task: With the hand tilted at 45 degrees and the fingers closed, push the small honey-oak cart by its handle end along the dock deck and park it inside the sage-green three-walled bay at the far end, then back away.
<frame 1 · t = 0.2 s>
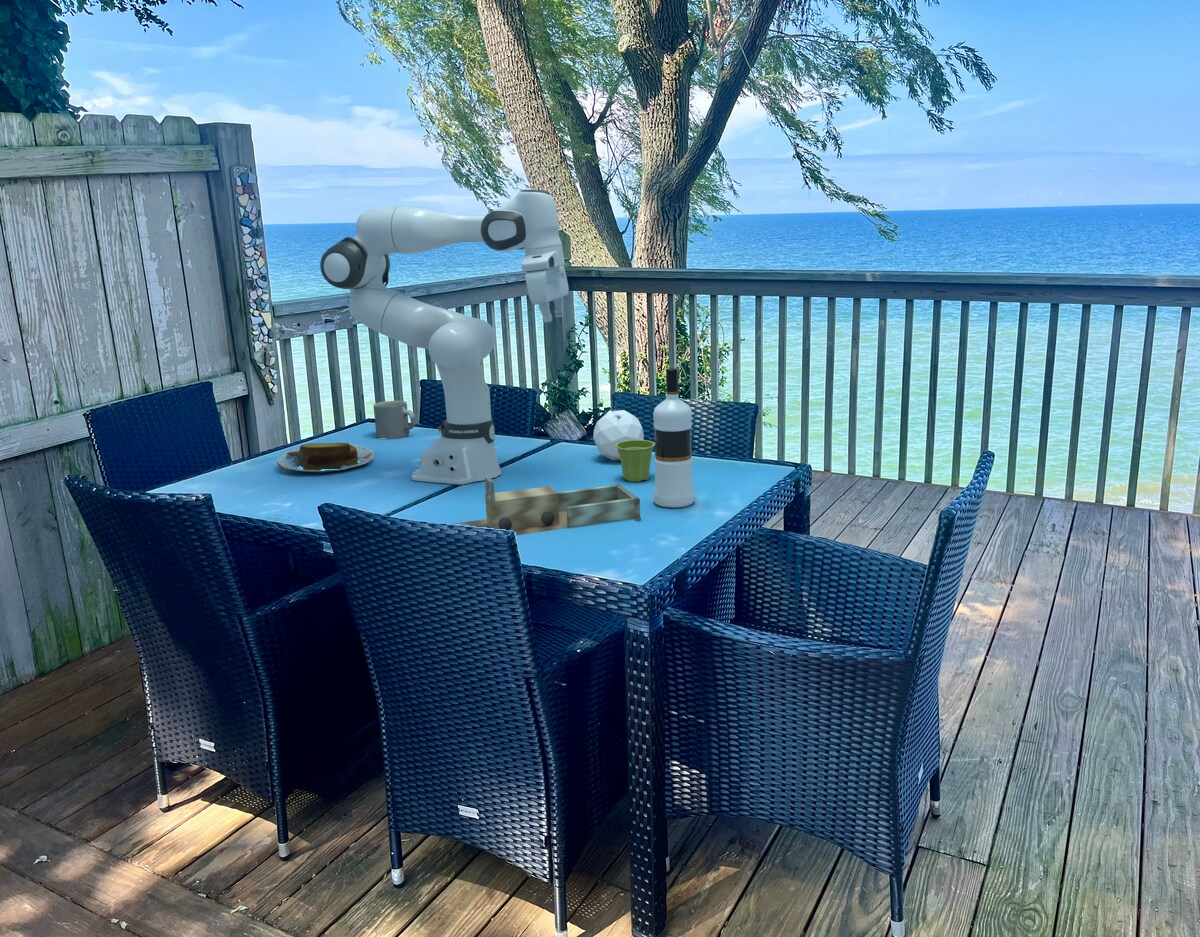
hand: (554, 319, 220), 39 cm above the table, tool pointing down, fingers open, 8 cm apart
plant pot: (636, 479, 226), on the table
coffee mug: (397, 436, 284), on the table
dock: (591, 517, 198), on the table
vodka: (674, 503, 206), on the table
geodesic sphere: (619, 459, 246), on the table
food on plate: (327, 465, 253), on the table
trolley: (523, 523, 193), point 1 cm above the table, touching dock
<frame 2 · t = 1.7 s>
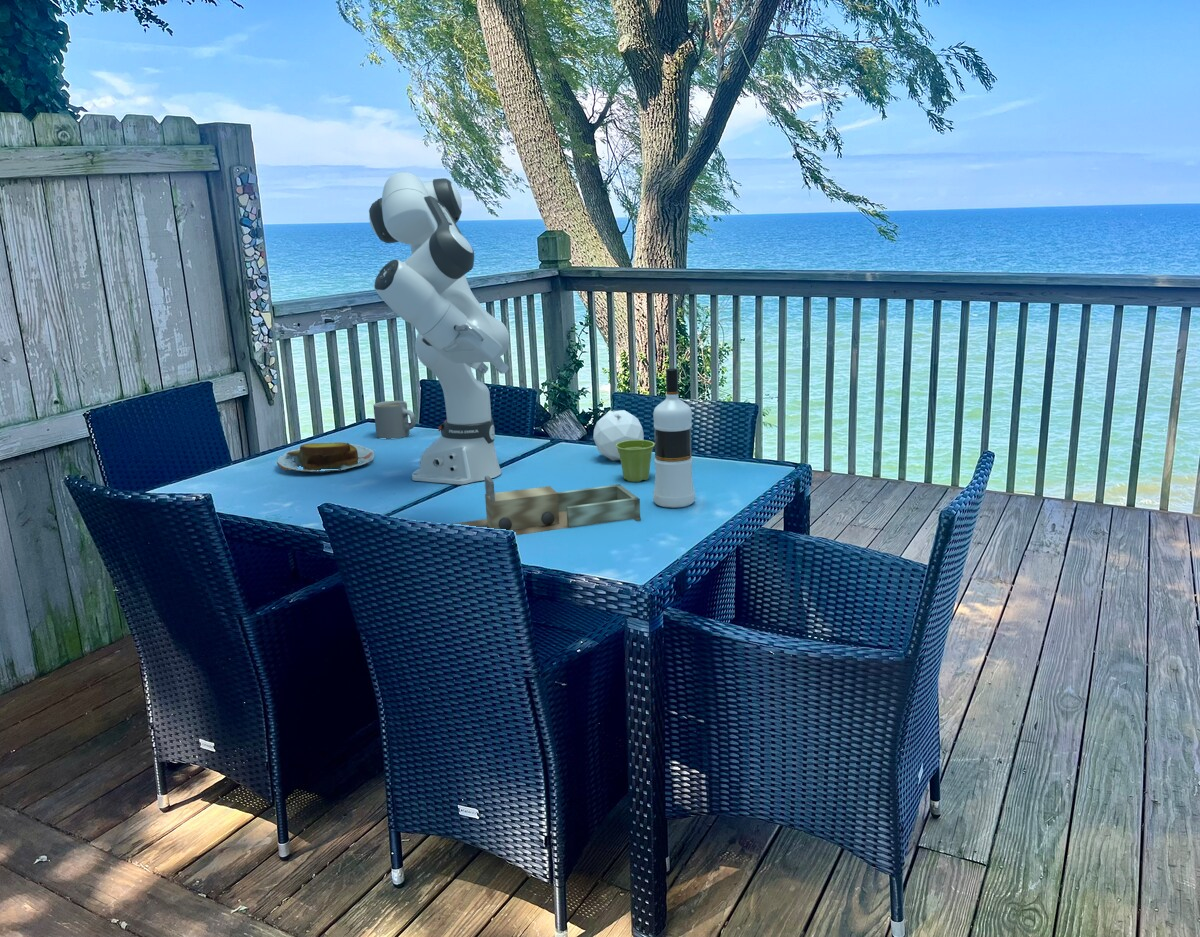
hand: (495, 371, 191), 32 cm above the table, tool tilted 45°, fingers open, 8 cm apart
nothing on the table moved.
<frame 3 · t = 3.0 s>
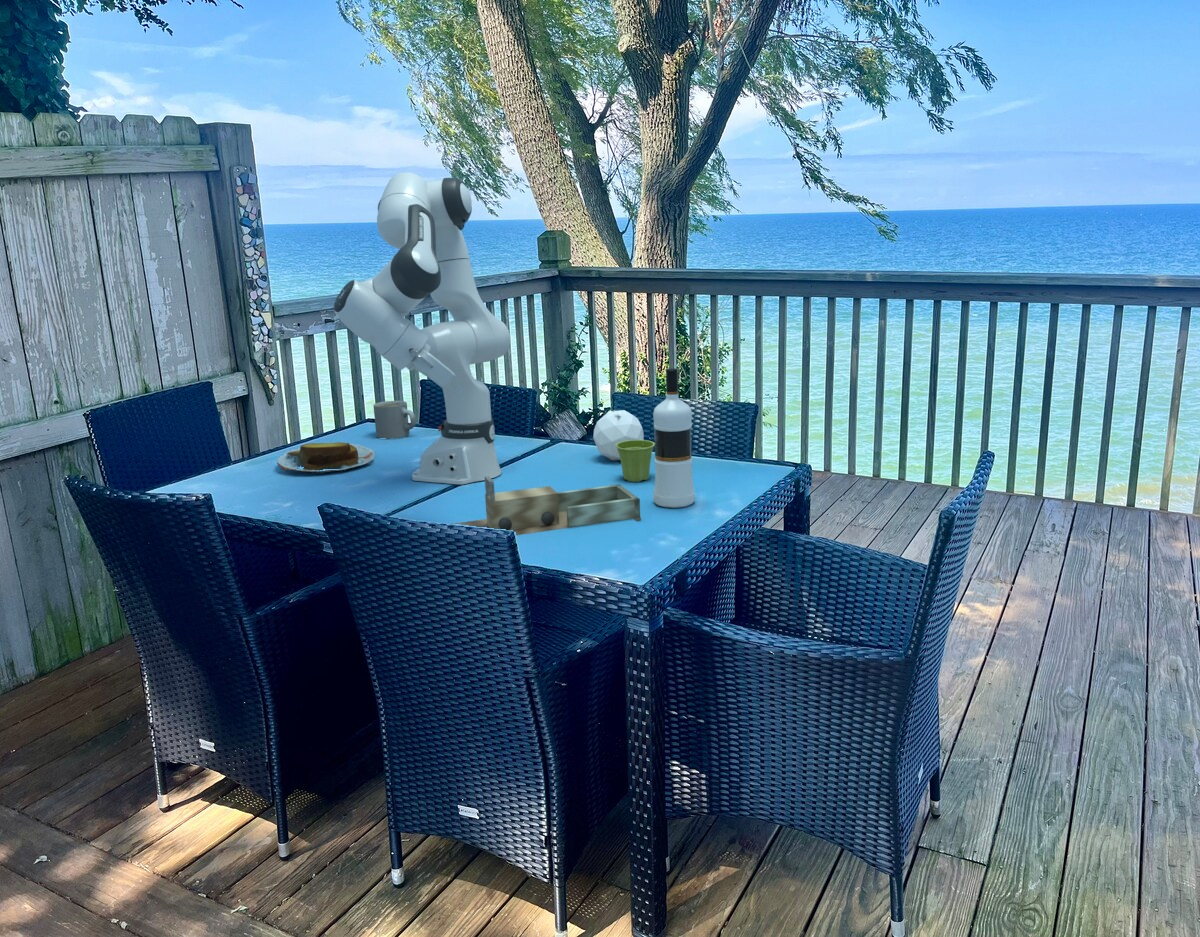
hand: (460, 392, 188), 28 cm above the table, tool tilted 45°, fingers closed
nothing on the table moved.
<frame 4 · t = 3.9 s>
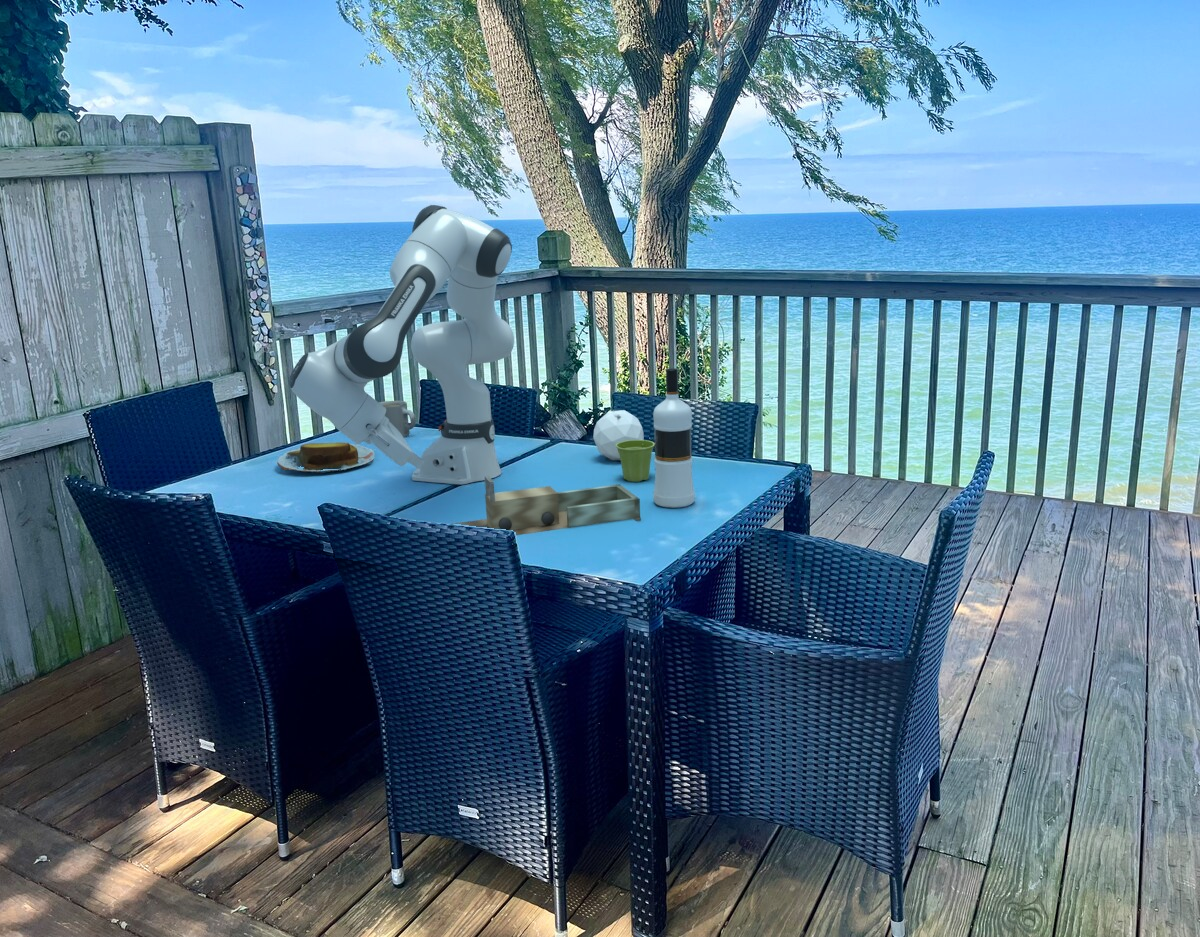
hand: (420, 464, 183), 16 cm above the table, tool tilted 45°, fingers closed
nothing on the table moved.
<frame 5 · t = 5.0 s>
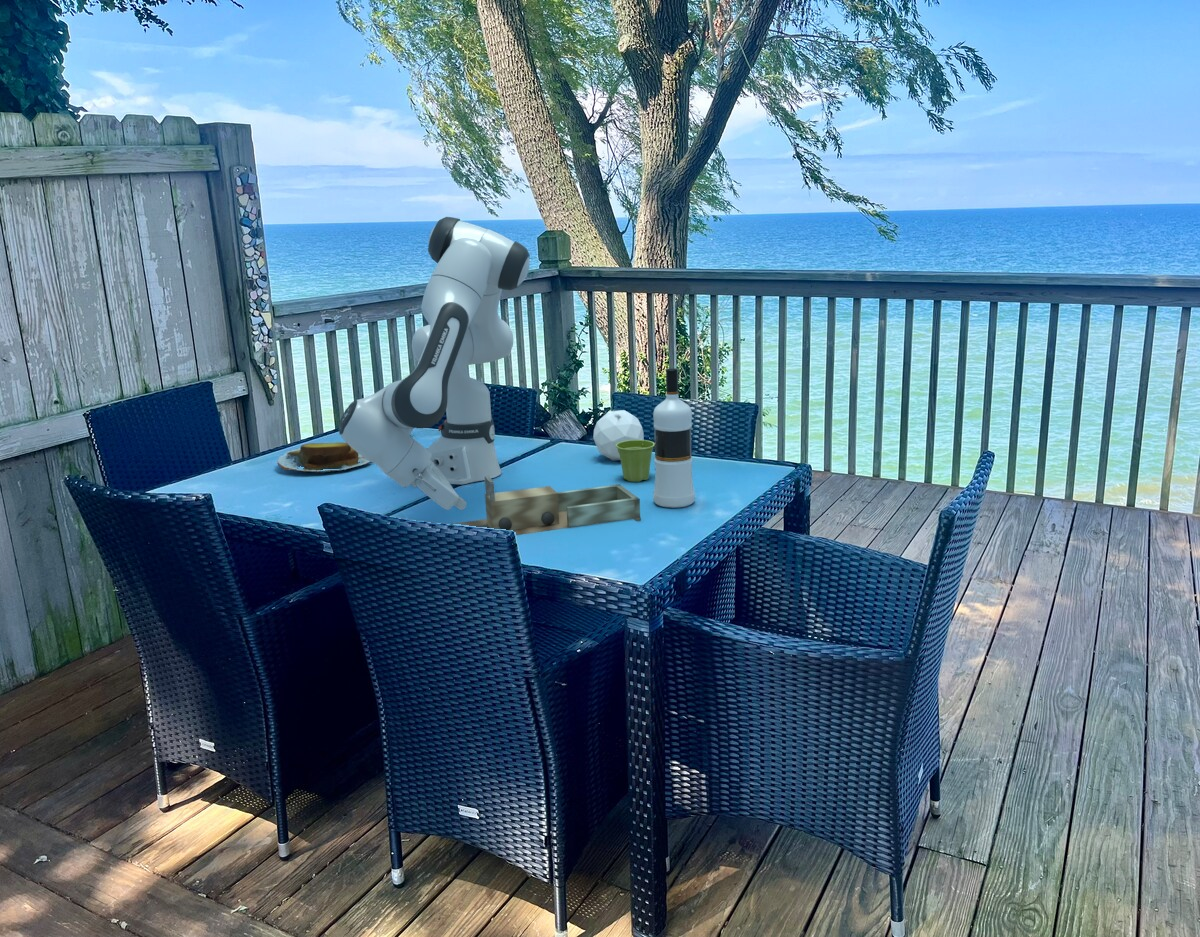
hand: (463, 505, 188), 6 cm above the table, tool tilted 45°, fingers closed
nothing on the table moved.
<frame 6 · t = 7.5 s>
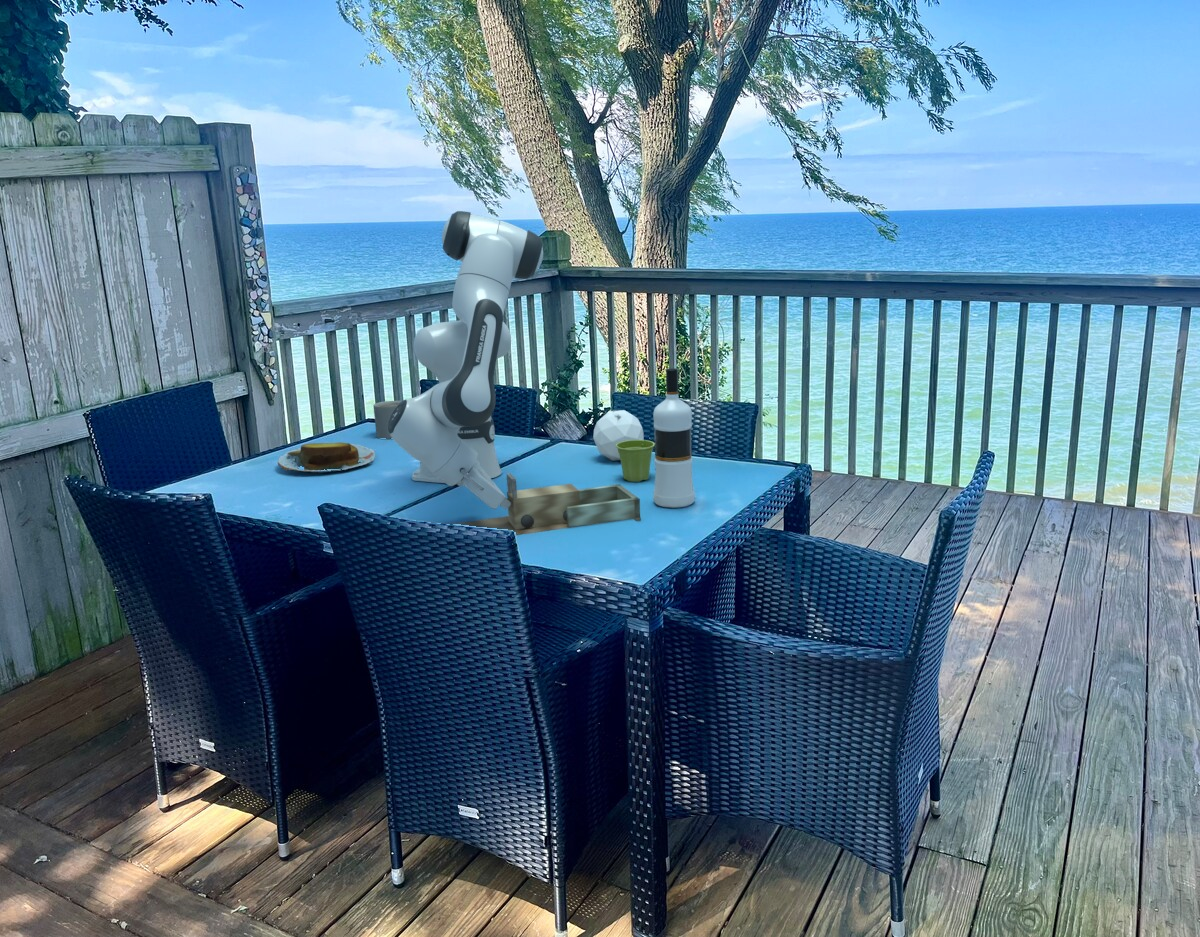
hand: (507, 504, 191), 5 cm above the table, tool tilted 45°, fingers closed, pressing on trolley
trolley: (544, 521, 194), point 1 cm above the table, touching dock, gripper
everything else where it was.
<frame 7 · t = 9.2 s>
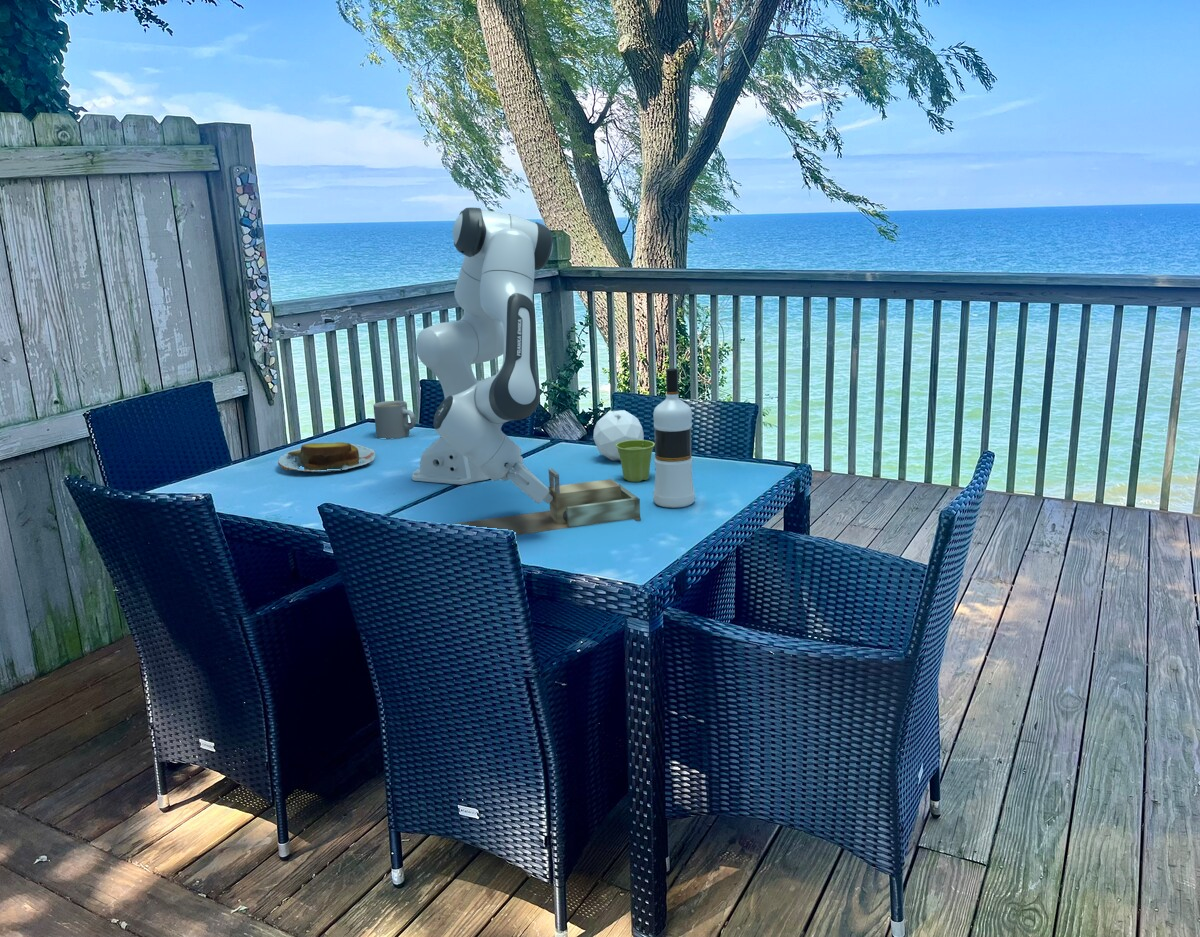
hand: (549, 499, 194), 5 cm above the table, tool tilted 45°, fingers closed, pressing on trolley
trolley: (585, 515, 197), point 1 cm above the table, touching dock, gripper
everything else where it was.
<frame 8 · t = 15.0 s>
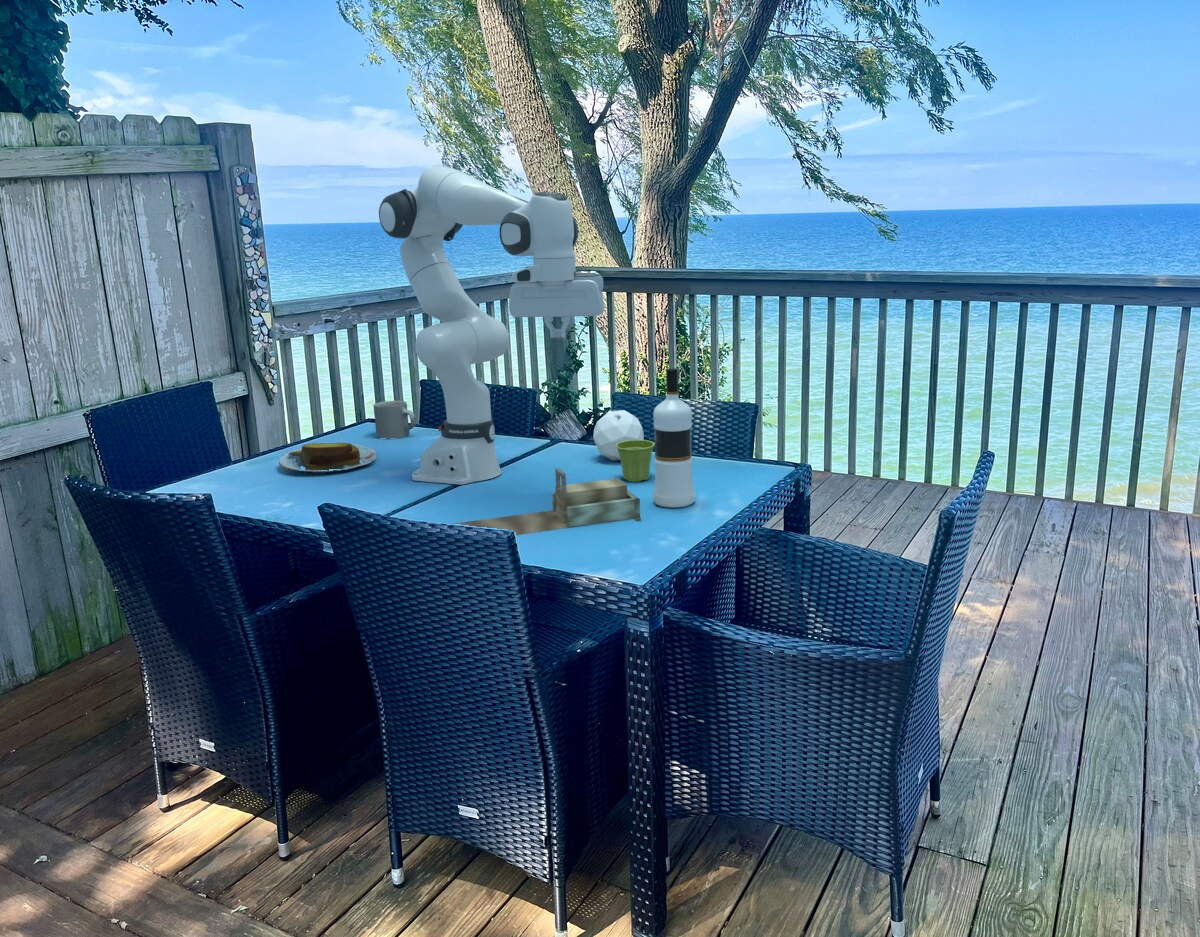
hand: (558, 337, 199), 37 cm above the table, tool pointing down, fingers closed
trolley: (592, 515, 197), point 1 cm above the table, touching dock
everything else where it was.
at the end: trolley 0.5 cm from the dock (horizontally); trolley tilted 0° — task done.
